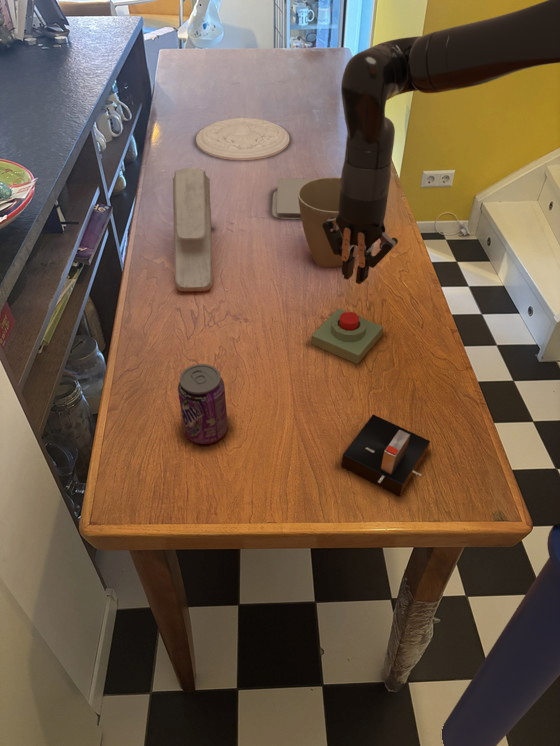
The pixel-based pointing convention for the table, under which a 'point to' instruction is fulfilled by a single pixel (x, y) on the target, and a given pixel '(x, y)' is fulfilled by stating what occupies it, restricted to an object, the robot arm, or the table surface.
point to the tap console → (370, 450)
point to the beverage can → (203, 403)
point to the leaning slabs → (192, 230)
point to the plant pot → (320, 217)
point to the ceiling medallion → (242, 139)
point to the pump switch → (347, 337)
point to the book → (287, 198)
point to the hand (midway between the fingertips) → (354, 279)
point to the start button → (349, 321)
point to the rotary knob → (395, 452)
